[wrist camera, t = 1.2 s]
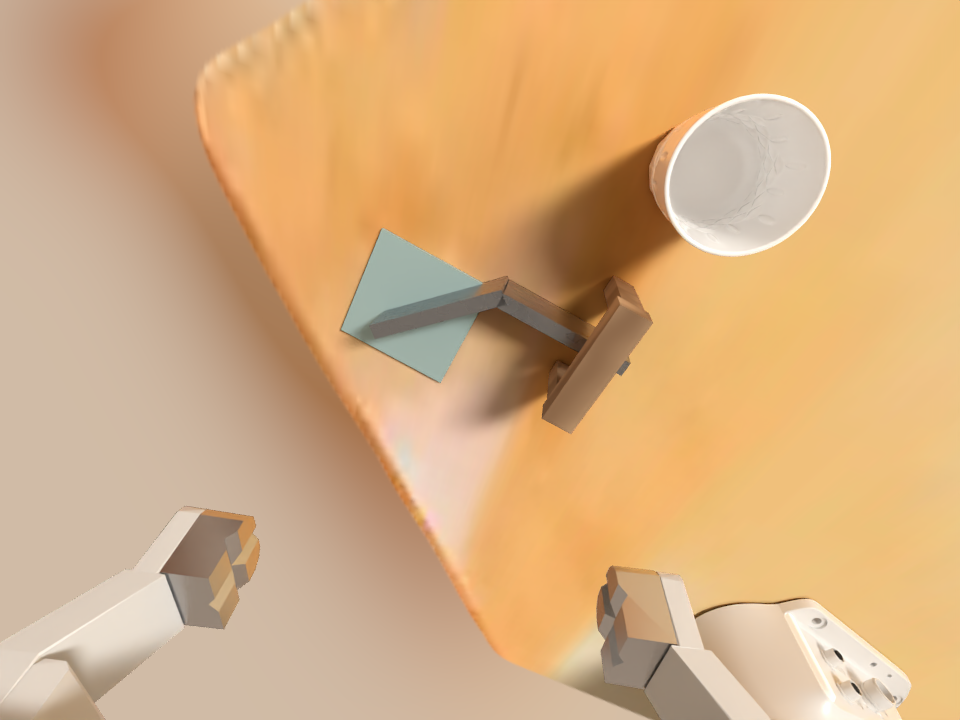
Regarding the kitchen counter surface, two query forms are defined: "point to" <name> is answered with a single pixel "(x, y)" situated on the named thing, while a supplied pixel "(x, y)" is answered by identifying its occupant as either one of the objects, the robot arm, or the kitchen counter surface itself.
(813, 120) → the white cup
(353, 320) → the pad
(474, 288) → the rail
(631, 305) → the arch
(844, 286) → the kitchen counter surface
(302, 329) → the kitchen counter surface
